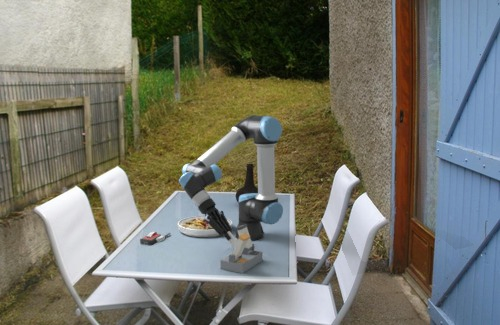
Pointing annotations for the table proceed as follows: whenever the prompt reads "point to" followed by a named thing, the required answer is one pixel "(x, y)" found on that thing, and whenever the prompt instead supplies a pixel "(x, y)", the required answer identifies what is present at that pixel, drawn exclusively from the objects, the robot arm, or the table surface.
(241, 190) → the glass bottle
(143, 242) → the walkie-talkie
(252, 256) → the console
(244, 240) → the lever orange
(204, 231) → the bowl
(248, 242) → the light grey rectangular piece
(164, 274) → the table surface
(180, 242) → the table surface
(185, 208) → the table surface
